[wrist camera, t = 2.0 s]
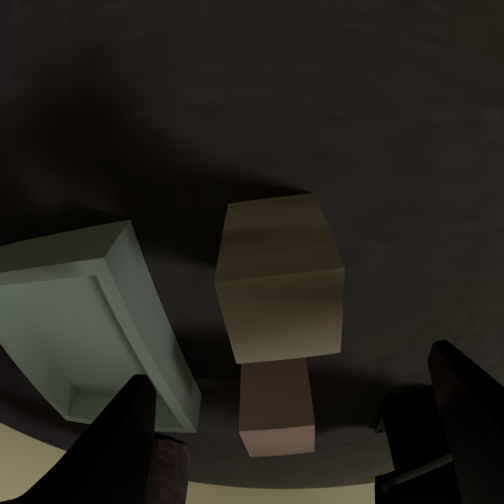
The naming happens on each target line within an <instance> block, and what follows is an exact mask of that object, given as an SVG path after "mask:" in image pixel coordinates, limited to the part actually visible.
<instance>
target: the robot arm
mask: <svg viewBox="0 0 504 504" xmlns="http://www.w3.org/2000/svg"><path fill="white" fill-rule="evenodd" d="M428 367H429V371H430V376H431V380H432V385H433V388H430V389H426V390H422V391H419V392H415V393H411V394H406V395H402V396H398V397H394V398H389V399H387V400H385V401H384V403H383V406H382V409H381V412H380V415H379V418H378V420H377V423H376V426H375V429H374V430H375V433H376V434H378V433H383V432H386V435H387V439H388V443H389V448H390V452H391V456H392V461H393V465H394V470H395V471H392V472H390V473H387V474H384V475H379V476H376V477H375V504H504V387H503V386H502V385H501V384H500V383H498V382H497V381H496V380H495V379H494V378H493V377H491V376H490V375H489V374H488V373H487V372H485V371H484V370H483V369H482V368H480V367H479V366H478V365H477V364H476V363H474V362H473V361H472V360H471V359H470V358H468V357H467V356H466V355H465V354H463V353H462V352H461V351H460V350H458V349H457V348H456V347H455V346H453V345H452V344H451V343H450V342H448V341H447V340H441V341H437V342H435V343H434V344H433V346H432V349H431V352H430V354H429V357H428ZM156 396H157V394H156V389H155V387H154V385H153V384H152V382H151V381H150V379H149V377H148V376H147V375H146V374H134V375H133V376H132V377H131V378H130V379H129V380H128V381H127V383H126V384H125V385H124V386H123V387H122V388H121V389H120V391H119V392H118V393H117V394H116V395H115V396H114V398H113V399H112V400H111V401H110V402H109V403H108V404H107V406H106V407H105V408H104V409H103V410H102V411H101V413H100V414H99V415H98V416H97V417H96V418H95V419H94V421H93V422H92V423H91V424H90V425H89V426H88V428H87V429H86V430H85V431H84V432H83V433H82V435H81V436H80V437H79V438H78V439H77V440H76V442H75V443H74V444H73V445H72V446H71V449H69V450H68V451H67V452H66V453H65V454H64V455H63V457H62V458H61V459H60V460H59V461H58V462H57V463H56V464H55V465H54V466H53V467H52V468H51V469H50V470H49V471H48V472H47V473H46V474H45V475H44V476H43V477H42V478H41V479H40V480H39V481H38V482H36V484H34V485H33V486H32V487H31V488H30V489H29V490H28V491H27V492H25V493H24V494H23V495H21V496H19V497H18V498H15V499H12V500H7V501H3V502H0V504H145V500H146V492H147V484H148V477H149V469H150V462H151V456H152V449H153V443H154V435H155V415H156Z"/></svg>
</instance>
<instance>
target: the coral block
mask: <svg viewBox="0 0 504 504" xmlns="http://www.w3.org/2000/svg"><path fill="white" fill-rule="evenodd" d="M239 433H240V435H241V437H242V440H243V442H244V444H245V447H246V449H247V451H248V453H249V455H250V457H260V456H276V455H288V454H298V453H307V452H314V443H315V421H314V413H313V405H312V397H311V390H310V382H309V375H308V367H307V360H306V357H303V358H294V359H285V360H275V361H264V362H252V363H241V387H240V413H239Z"/></svg>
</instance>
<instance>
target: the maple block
mask: <svg viewBox="0 0 504 504" xmlns="http://www.w3.org/2000/svg"><path fill="white" fill-rule="evenodd" d="M214 285H215V289H216V292H217V296H218V300H219V303H220V307H221V311H222V314H223V318H224V322H225V325H226V329H227V332H228V336H229V339H230V343H231V346H232V350H233V353H234V356H235V360H236V363H237V364H239V363H252V362H264V361H275V360H285V359H294V358H303V357H311V356H319V355H326V354H333V353H340V351H341V336H342V320H343V298H344V265H343V262H342V260H341V257H340V255H339V252H338V250H337V247H336V245H335V242H334V240H333V237H332V235H331V232H330V230H329V227H328V225H327V222H326V220H325V218H324V215H323V213H322V210H321V208H320V206H319V203H318V201H317V199H316V196H315V194H314V193H311V194H302V195H293V196H284V197H276V198H268V199H260V200H252V201H244V202H237V203H229V204H228V207H227V212H226V218H225V223H224V228H223V234H222V239H221V245H220V250H219V256H218V262H217V267H216V273H215V279H214Z"/></svg>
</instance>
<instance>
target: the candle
mask: <svg viewBox="0 0 504 504" xmlns="http://www.w3.org/2000/svg"><path fill="white" fill-rule="evenodd" d="M190 460H191V451H190V448H189V447H188V446H186V445H184V444H182V443H177V442H175V441H173V440H171V439H154V443H153V449H152V456H151V462H150V469H149V477H148V484H147V492H146V500H145V504H185V501H186V494H187V485H188V477H189V467H190Z"/></svg>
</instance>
